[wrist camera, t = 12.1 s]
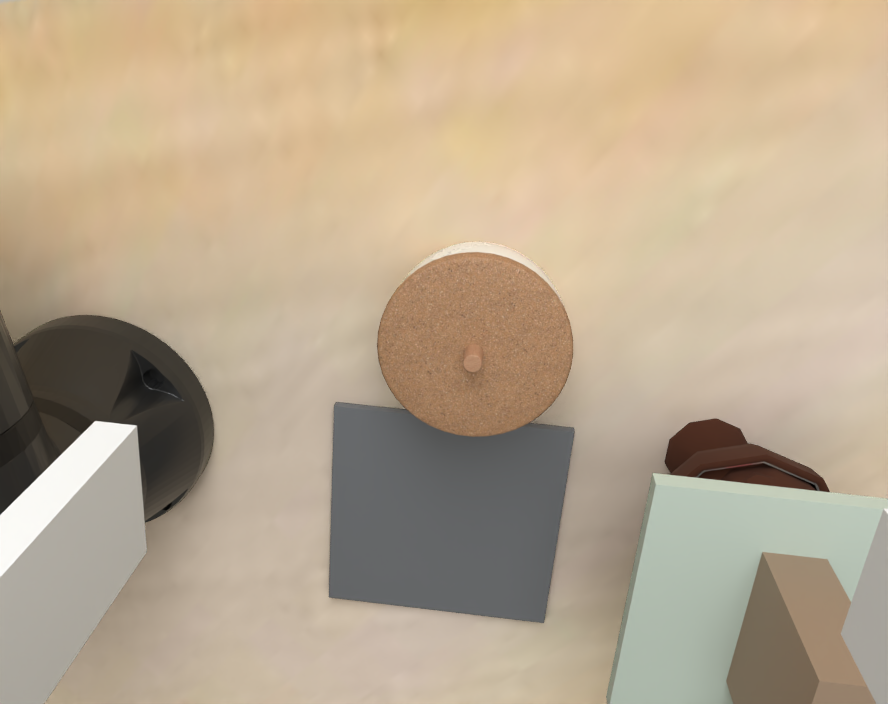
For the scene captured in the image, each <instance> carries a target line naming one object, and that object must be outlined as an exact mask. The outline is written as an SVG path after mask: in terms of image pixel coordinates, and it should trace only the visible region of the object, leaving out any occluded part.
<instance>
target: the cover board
mask: <svg viewBox="0 0 888 704" xmlns="http://www.w3.org/2000/svg"><path fill="white" fill-rule="evenodd" d="M883 509H888V499H886V498H877V497H868V496H859V495H850V494H841V493H832V492H822V491H813V490H804V489H795V488H786V487H777V486H767V485H758V484H749V483H740V482H731V481H722V480H713V479H703V478H694V477H685V476H676V475H667V474H658V473H653V474H652V479H651V483H650V488H649V493H648V498H647V503H646V508H645V512H644V517H643V522H642V527H641V532H640V537H639V541H638V546H637V551H636V556H635V561H634V566H633V570H632V575H631V580H630V585H629V590H628V594H627V599H626V604H625V609H624V614H623V619H622V623H621V628H620V633H619V638H618V643H617V648H616V652H615V657H614V662H613V667H612V672H611V677H610V681H609V686H608V691H607V696H606V698H607V704H876V702H875V700H874V698H873V697H872V695H871V693H870V691H869V689H868V687H867V685H866V683H865V681H864V679H863V677H862V675H861V673H860V671H859V669H858V667H857V665H856V663H855V661H854V659H853V657H852V655H851V653H850V651H849V649H848V647H847V645H846V643H845V641H844V639H843V637H842V635H841V631H842V628H843V625H844V622H845V619H846V617H847V614H848V611H849V608H850V605H851V602H852V599H853V596H854V593H855V590H856V587H857V585H858V582H859V579H860V576H861V573H862V570H863V567H864V564H865V561H866V558H867V555H868V552H869V550H870V547H871V544H872V541H873V538H874V535H875V532H876V529H877V526H878V523H879V520H880V517H881V515H882V512H883Z"/></svg>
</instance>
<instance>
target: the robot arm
mask: <svg viewBox="0 0 888 704" xmlns="http://www.w3.org/2000/svg"><path fill="white" fill-rule="evenodd" d="M213 436H214V429H213V419H212V413H211V409H210V406H209V402H208V399H207V397H206V395H205V392H204V390H203V388H202V386H201V384H200V382H199V381H198V379H197V377H196V376H195V375H194V373H193V372H192V370H191V369H190V368H189V366H188V365H187V364H186V363H185V362H184V361H183V359H182V358H181V357H180V356H179V355H178V354H177V353H176V352H175V351H173V350H172V349H171V348H170V347H169V346H168V345H166V344H165V343H164V342H162V341H161V340H160V339H158V338H157V337H155V336H153V335H152V334H150V333H148V332H147V331H145V330H143V329H141V328H139V327H136V326H134V325H132V324H129V323H126V322H123V321H120V320H117V319H113V318H108V317H102V316H92V315H79V316H69V317H64V318H59V319H56V320H53V321H50V322H48V323H45V324H43V325H41V326H39V327H37V328H36V329H34V330H33V331H31V332H30V333H28V334H27V335H25V336H24V337H22V338H21V339H20V340H18V341H17V342H15V343H14V344H13V342H12V340H11V337H10V335H9V332H8V329H7V327H6V324H5V321H4V319H3V316H2V314H1V311H0V704H44V703H45V702H46V700H47V699H48V697H49V696H50V694H51V693H52V691H53V690H54V689H55V687H56V686H57V684H58V683H59V681H60V680H61V678H62V677H63V675H64V674H65V672H66V671H67V669H68V668H69V666H70V665H71V663H72V662H73V660H74V659H75V657H76V656H77V655H78V653H79V652H80V650H81V649H82V647H83V646H84V644H85V643H86V641H87V640H88V638H89V637H90V635H91V634H92V632H93V631H94V629H95V628H96V626H97V625H98V623H99V622H100V620H101V619H102V618H103V616H104V615H105V613H106V612H107V610H108V609H109V607H110V606H111V604H112V603H113V601H114V600H115V598H116V597H117V595H118V594H119V592H120V591H121V589H122V588H123V586H124V585H125V584H126V582H127V581H128V579H129V578H130V576H131V575H132V573H133V572H134V570H135V569H136V567H137V566H138V564H139V563H140V561H141V560H142V558H143V557H144V555H145V554H146V552H147V546H146V533H145V522H148V521H151V520H153V519H155V518H157V517H159V516H161V515H163V514H164V513H166V512H168V511H169V510H171V509H172V508H173V507H175V506H176V505H177V504H178V503H179V502H180V501H181V500H182V499H183V498H184V497H185V496H186V495H187V494H188V493H189V491H190V490H191V489H192V487H193V486H194V484H195V483H196V481H197V480H198V478H199V477H200V475H201V474H202V472H203V471H204V469H205V467H206V465H207V463H208V460H209V457H210V454H211V450H212V445H213ZM841 635H842V637H843V639H844V641H845V643H846V645H847V647H848V649H849V651H850V653H851V655H852V657H853V659H854V661H855V663H856V665H857V667H858V669H859V671H860V673H861V675H862V677H863V679H864V681H865V683H866V685H867V687H868V689H869V691H870V693H871V695H872V697H873V698H874V700H875V702H876V704H888V509H883V512H882V515H881V517H880V520H879V523H878V526H877V529H876V532H875V535H874V538H873V541H872V544H871V547H870V550H869V552H868V555H867V558H866V561H865V564H864V567H863V570H862V573H861V576H860V579H859V582H858V585H857V587H856V590H855V593H854V596H853V599H852V602H851V605H850V608H849V611H848V614H847V617H846V619H845V622H844V625H843V628H842V631H841Z"/></svg>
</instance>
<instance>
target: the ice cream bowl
mask: <svg viewBox="0 0 888 704" xmlns="http://www.w3.org/2000/svg"><path fill="white" fill-rule="evenodd" d="M665 463H666V465H667V467H668V469H669V470H670V472H671V474H669V475H676V476H685V477H694V478H703V479H713V480H722V481H731V482H740V483H749V484H758V485H767V486H777V487H786V488H795V489H804V490H813V491H822V492H830V491H829V489H828V487H827V485H826V483H825V481H824V479H823V478H822V477H820V476H819V475H818V474H817V473H816V472H814V471H813V470H812V469H811V468H809V467H806V466H804V465H802V464H800V463H797V462H795V461H793V460H790V459H788V458H786V457H783V456H781V455H779V454H776V453H774V452H772V451H769V450H767V449H765V448H762V447H760V446H758V445H754V444H748V443H747V441H746V439H745V438H744V436H743V434H742V432H741V430H740V429H739V428H737V427H735V426H732V425H730V424H728V423H725V422H723V421H721V420H719V419H711V420H704V421H698V422H691V423H689V424H687V425H686V426H685V427H684V428H683V429H682V430H680V431H679V432H678V433H677V434H676V435H675V436H673V437H672V438H671V439H670V441H669V445H668V449H667V454H666V458H665Z"/></svg>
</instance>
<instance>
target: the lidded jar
mask: <svg viewBox="0 0 888 704" xmlns="http://www.w3.org/2000/svg"><path fill="white" fill-rule="evenodd" d="M377 349H378V358H379V363H380V367H381V370H382V374H383V376H384V378H385V380H386V382H387V385H388V387H389V388H390V390H391V391H392V393H393V394H394V396H395V397H396V399H397V400H398V401H399V402H400V403H401V404H402V405H403V406H404V407H405V408H406V409H407V410H408V411H409V412H410V413H412V414H413V415H414V416H415V417H416V418H418V419H420V420H421V421H423V422H425V423H426V424H428V425H430V426H432V427H434V428H437V429H439V430H442V431H444V432H448V433H452V434H456V435H462V436H471V437H481V436H492V435H498V434H503V433H506V432H509V431H513V430H516V429H518V428H520V427H522V426H524V425H526V424H528V423H530V422H531V421H533V420H534V419H536V418H537V417H538V416H540V415H541V414H542V413H543V412H544V411H545V410H546V409H548V408H549V407H550V406H551V404H552V403H553V402H554V401H555V399H556V398H557V397H558V395H559V394H560V392H561V390H562V389H563V387H564V385H565V383H566V381H567V378H568V375H569V372H570V369H571V364H572V358H573V337H572V332H571V326H570V322H569V319H568V316H567V313H566V311H565V308H564V305H563V303H562V300H561V297H560V295H559V293H558V292H557V290H556V288H555V286H554V285H553V283H552V281H551V280H550V278H549V277H548V276H547V275H546V273H545V272H544V271H543V270H542V269H541V268H540V267H539V266H538V265H537V264H536V263H534V262H533V261H532V260H531V259H529V258H528V257H526V256H525V255H523V254H522V253H520V252H518V251H516V250H514V249H512V248H509V247H507V246H504V245H500V244H496V243H491V242H482V241H477V242H464V243H459V244H454V245H452V246H449V247H446V248H444V249H441V250H438V251H437V252H435V253H433V254H431V255H430V256H428V257H426V258H425V259H424V260H423V261H421V262H420V263H419V264H418V265H416V266H415V267H414V268H413V269H412V270H411V272H410V273H409V274H408V275H407V276H406V277H405V278H404V279H403V281H402V282H401V284H400V286H399V287H398V288H397V289H396V291H395V292H394V294H393V296H392V297H391V299H390V300H389V302H388V304H387V306H386V309H385V311H384V313H383V316H382V318H381V322H380V327H379V331H378V343H377Z"/></svg>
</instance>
